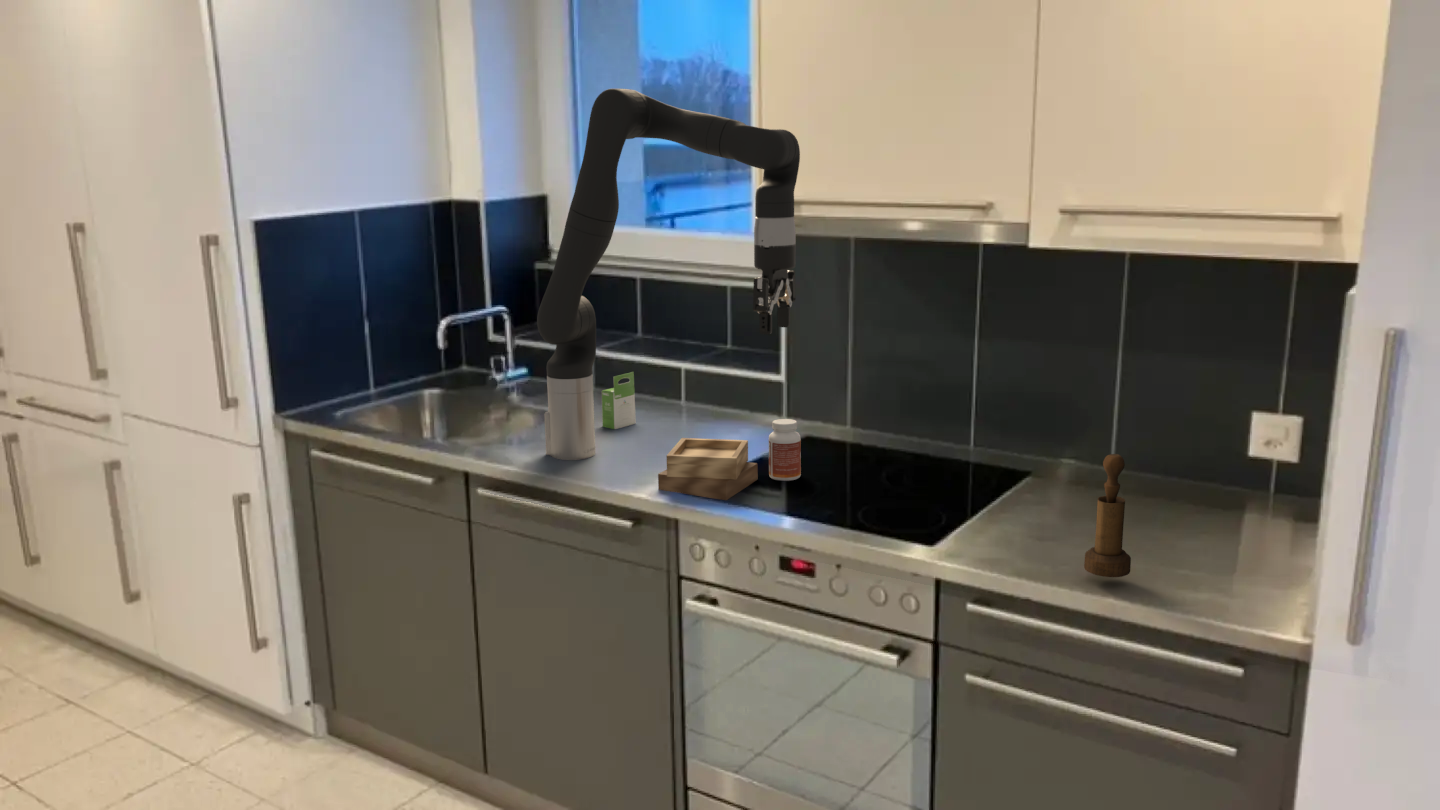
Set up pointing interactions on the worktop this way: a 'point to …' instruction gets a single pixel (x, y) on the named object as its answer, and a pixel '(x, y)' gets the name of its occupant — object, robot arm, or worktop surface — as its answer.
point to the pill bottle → (784, 451)
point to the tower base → (709, 484)
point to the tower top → (707, 458)
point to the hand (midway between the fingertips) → (774, 330)
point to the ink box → (619, 403)
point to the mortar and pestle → (1109, 527)
